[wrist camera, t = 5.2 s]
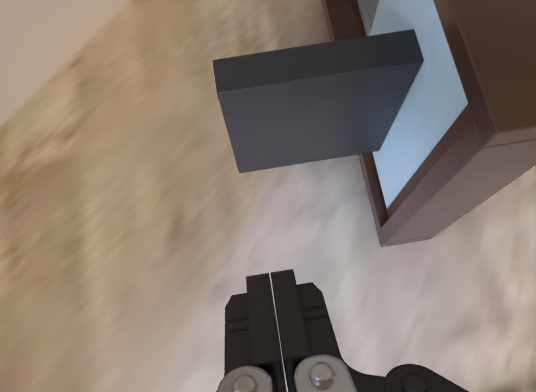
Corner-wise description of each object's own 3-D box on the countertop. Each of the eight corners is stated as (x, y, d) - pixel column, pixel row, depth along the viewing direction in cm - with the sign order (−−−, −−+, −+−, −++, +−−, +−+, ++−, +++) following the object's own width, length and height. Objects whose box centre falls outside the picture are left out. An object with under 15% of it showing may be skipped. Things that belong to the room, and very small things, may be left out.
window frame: (430, 239, 28) (608, 115, 12) (380, 247, 28) (497, 133, 12) (355, -33, 34) (409, -326, 19) (314, -27, 34) (337, -316, 19)
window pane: (398, 220, 27) (499, 113, 14) (251, 244, 27) (219, 158, 14) (363, 84, 30) (420, -104, 17) (230, 105, 30) (190, -68, 17)
